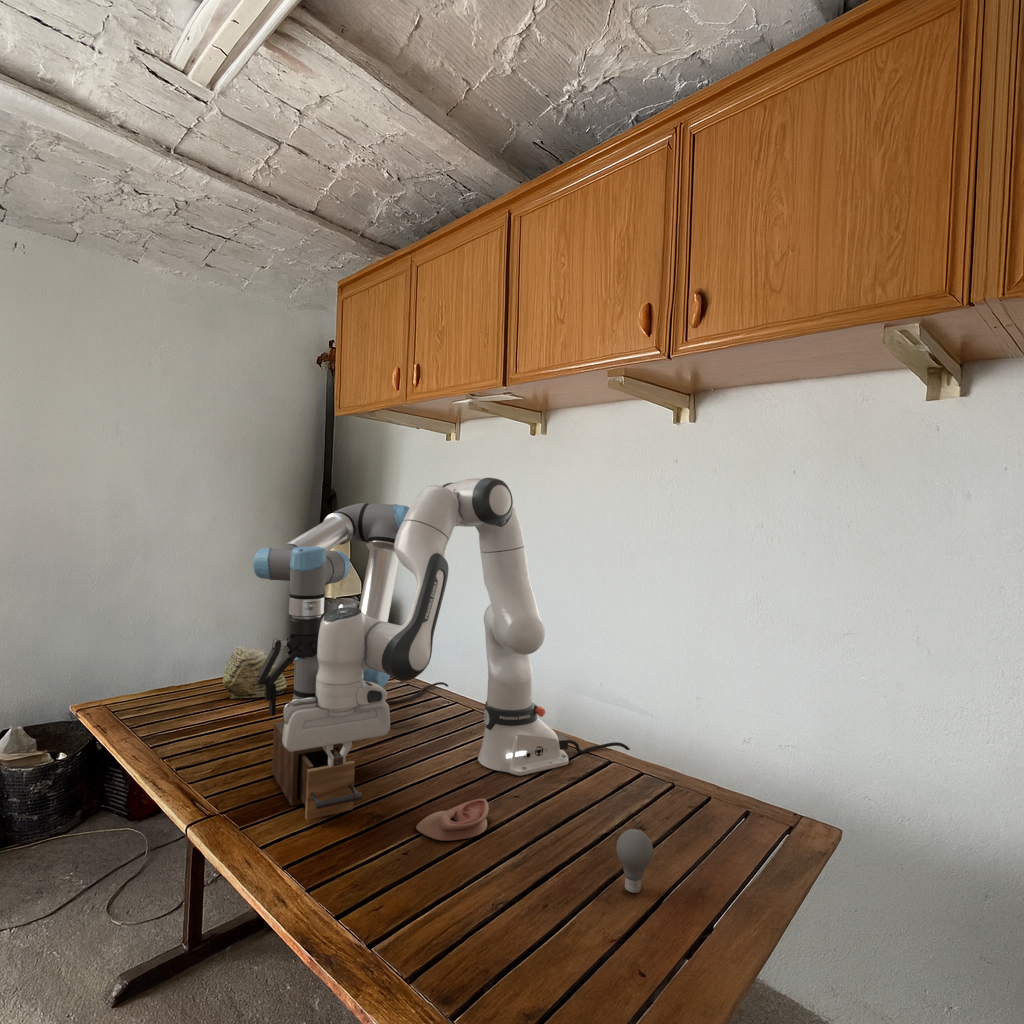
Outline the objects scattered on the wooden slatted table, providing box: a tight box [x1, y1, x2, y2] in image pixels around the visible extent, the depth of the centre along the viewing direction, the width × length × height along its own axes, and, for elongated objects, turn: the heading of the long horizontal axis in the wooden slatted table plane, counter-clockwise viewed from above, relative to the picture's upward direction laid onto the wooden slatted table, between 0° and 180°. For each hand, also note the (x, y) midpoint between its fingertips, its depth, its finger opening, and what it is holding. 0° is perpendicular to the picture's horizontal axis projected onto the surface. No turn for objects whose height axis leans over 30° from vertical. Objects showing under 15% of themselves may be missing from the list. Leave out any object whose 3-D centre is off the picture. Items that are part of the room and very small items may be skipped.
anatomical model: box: [415, 798, 489, 842], centre depth 124 cm, size 13×4×12 cm
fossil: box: [222, 646, 288, 699], centre depth 198 cm, size 9×18×15 cm, turn 132°
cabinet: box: [271, 721, 343, 807], centre depth 139 cm, size 18×10×12 cm, turn 33°
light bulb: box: [615, 828, 654, 894], centre depth 106 cm, size 6×6×10 cm
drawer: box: [297, 748, 363, 821], centre depth 129 cm, size 22×9×10 cm, turn 33°
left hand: (303, 709), depth 143 cm, fingers open, 13 cm apart
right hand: (336, 764), depth 122 cm, fingers closed
